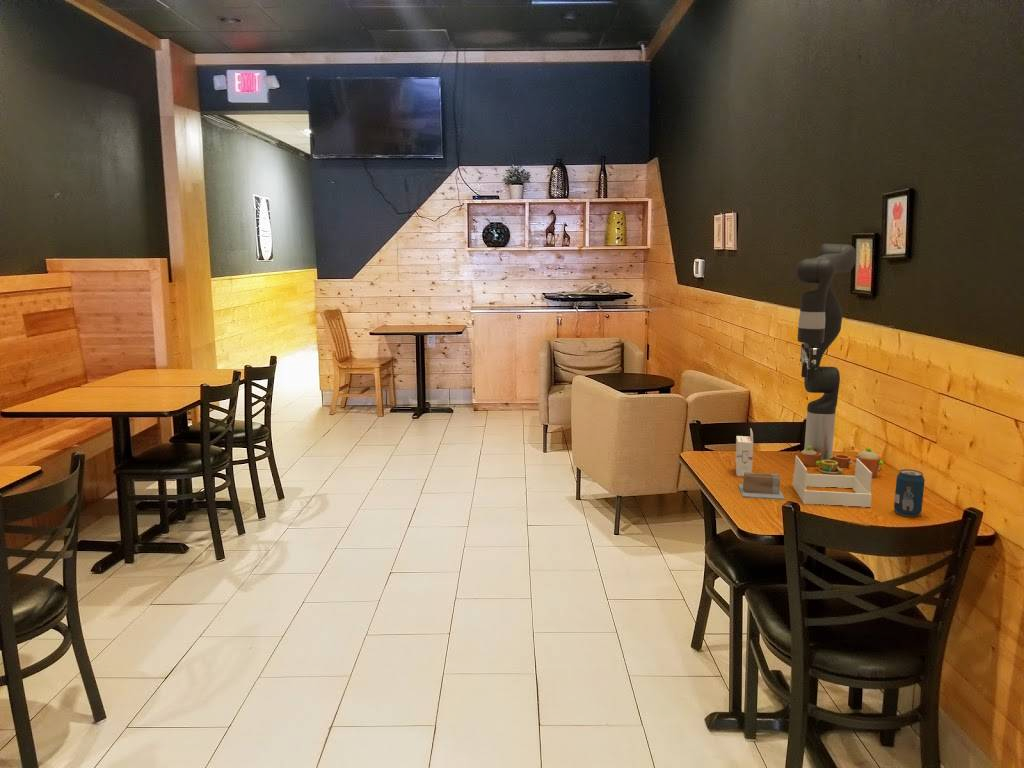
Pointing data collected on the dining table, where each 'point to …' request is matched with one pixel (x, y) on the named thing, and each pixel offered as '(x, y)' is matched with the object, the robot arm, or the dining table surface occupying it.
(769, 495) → the mat
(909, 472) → the soda can
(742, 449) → the ink cartridge box
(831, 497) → the carton
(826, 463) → the toy tea set
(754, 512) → the dining table surface
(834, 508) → the dining table surface
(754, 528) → the dining table surface
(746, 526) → the dining table surface
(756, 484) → the box
